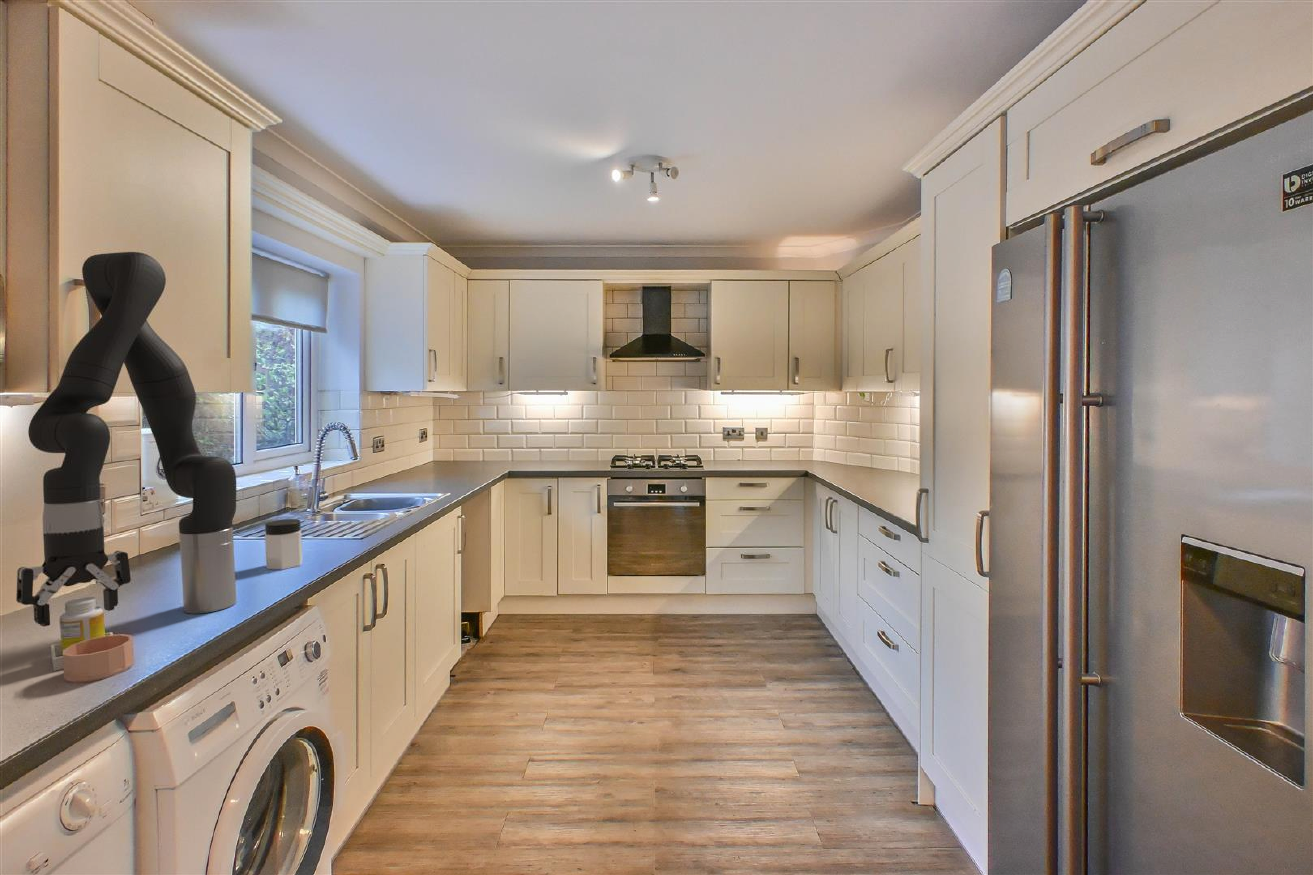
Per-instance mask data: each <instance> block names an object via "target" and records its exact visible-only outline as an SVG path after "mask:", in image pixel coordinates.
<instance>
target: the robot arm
mask: <svg viewBox="0 0 1313 875" xmlns="http://www.w3.org/2000/svg"><path fill="white" fill-rule="evenodd" d="M81 272H82V279H83V283H84V286H85V287H86V289H87V292H88V293H89V295H90V297H91V299H92V301H93V303H94V305H95V307H96V309H97V310H98V312H99V314H100V316H101V317H100V318H99V320H98V321H97V322H96V323H95V324H94V325H93V326H92V327H91V328H90V330H89V331H88V332H86V333H85V335H84V336H83V337H82V338H81V339H79V342H78V343H77V344H76V345H75V346H74V348H73V349H72V351H71V353H70V355H69V356H68V358H67V361H66V364H65V366H64V369H63V371H62V374H61V376H60V379H59V383H58V384H57V387H56V388H54V390H52V392H51V393H50V394H49V395H48V397H47V398H46V399H45V400H44V402H43V403H42V404H41V405H40V407H39V408H37V411H35V413H34V415H33V416H32V418H31V420H30V422H29V425H28V432H27V433H28V439H29V441H30V443H31V444H32V446H33V447H34V448H35V449H37V450H38V451H41V452H44V453H48V454H64V457H63V460H62V464H61V466H60V467H55V468H51V469H49V470H47V471H46V472H45V473H44V474H43V476H42V477H43V478H42V489H43V511H42V538H43V557H44V561H43V563H42V565H41V566H31V567H27V566H22V567H19V568H18V569H17V571H16V573H17V574H16V578H17V579H16V598H15V599H16V602H17V603H19V604H22V605H25V606H28V605H31V606H33V621H34V622H35V623H36V624H38V625H40V626H41V627H43V628H45V627H48V626H50V625H51V614H50V604H49V603H48V602H49V600H50V599H52V597H53V596H54V595H55V594H57V593H58V592H59V590H60V589H61V588H62V587H73V586H75V585H77V584H87V583H91V582H92V581H95V582H97V583H99V584H100V585H101V586H102V587H104V588H103V589H102V592H103V608H104V609H103V610H105V611H107V612H111V611H114V610H115V607H117V606H118V604H119V594H118V593H119V591H118V590H119V588H120V587H122V586H124V585H126V584H127V585H128V584H129V583H130V582H131V580H132V579H131V572H130V571H131V570H130V564H129V563H130V562H129V553H128V552H125V551H122V550H116V551H114V552H113V553H109V554H106V552H105V531H104V529H105V528H104V526H105V525H104V522H105V518H104V512H103V506H102V501H101V500H102V499H101V482H100V481H101V480H100V476H101V472H102V471H103V467H104V465H105V460H106V458H107V454H108V450H109V447H110V443H111V433H110V429H109V427H108V424H107V423H106V422H105V420H104V419H103V418H101V417H100V416H99V415H97V414H93V413H88V412H89V410H90V409H92V408H94V407H99V406H102V405H105V404H106V403H108V402H109V401H110V400H111V398H112V396H113V393H114V390H115V387H116V385H117V382H118V380H119V379H118V378H119V376H120V373H121V371H122V368H123V366H124V367H125V369H126V371H127V375H128V377H129V380H130V382H131V386H132V387H133V389H134V393H135V394H136V397H137V399H138V402H139V403H140V406H141V408H142V411H143V414H144V415H145V418H146V420H147V423H148V425H149V428H150V431H151V434H152V436H153V438H154V441H155V444H156V447H157V451H158V454H159V458H160V462H161V466H162V470H163V474H164V478H165V480H166V483H167V485H168V487H169V488H170V490H171V491H172V492H173V494H174V493H175V495H178V496H179V497H182V498H187V499H192V509H191V511H190V513H189V514H188V515H186V516H183V517H182V518H180V520H179V522H178V534H179V546H180V547H179V548H180V549H179V550H180V552H179V553H180V567H181V580H182V581H181V583H182V584H181V585H182V599H183V611H184V613H186V614H206V613H210V612H211V613H212V612H216V611H221V610H224V609H227V608H229V607H231V606H233V605H235V604H236V603H237V589H236V588H237V587H236V570H235V569H236V566H235V547H234V532H233V531H234V530H233V528H234V527H233V525H234V524H233V521H234V520H233V519H234V518H235V514H236V511H237V475H236V471H235V468H234V466H233V464H232V463H231V462H230V461H229V460H228V459H225V458H223V457H220V456H205V455H202V452H201V451H200V449H199V446H198V444H197V442H196V438H195V436H194V431H193V420H194V416H195V410H196V404H197V396H196V390H195V386H194V384H193V381H192V379H191V376H190V373H189V370H188V369H187V366H186V365H185V362H184V361H183V360H182V359H181V357H180V356H179V355H178V354H177V353H176V352H175V351H174V349H172V347H170V346H169V344H167V343H166V341H164V340H163V339H162V338H161V337H160V336H159V335H158V334H157V333H156V331H155V330H154V329H153V328H152V326H151V325H150V323H149V322H148V318H149V316H150V315H151V313H152V311H153V310H154V309H155V307H156V305H157V304H158V302H159V300H160V298H161V296H162V295H163V293H164V290H165V287H166V281H167V278H166V274H165V271H164V269H163V266H161V264H160V263H159V262H158V260H156V259H155V258H154V257H152V256H151V255H149V254H147V253H143V252H138V251H123V252H122V251H121V252H109V253H99V254H98V253H97V254H94V255H91V256H89V257H88V258H86V259H85V260H84V262H83V265H82V270H81ZM108 562H110V564H111V565H114V570H115V577H116V578H114V579H112V578H111V577H110V576H109V575H108V574H106V573H105V572H104V571H102V570H103V568H105V566H106V565H107V563H108ZM40 574H44V575H45V577H48V578H47V579H46V580H45V581H44V582H43V583H42V584H41V585H40V588H39V590H38V591H37V592H36V594H35V595H34V593H33V591H34V581H36V580H37V579H38V578H39V575H40Z"/></svg>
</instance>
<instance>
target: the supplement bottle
mask: <svg viewBox="0 0 1313 875" xmlns="http://www.w3.org/2000/svg"><path fill="white" fill-rule="evenodd" d="M97 604H98V603H97V598H96V597H94V596H85V597H84V596H83V597H78V598H74V599H73V598H72V599H71V600H68V601H65V603H64V611H65V612H64V613H62V614H61V615H60V616H59V628H60V629H59V630H60V639H61V640H60V643H62V654H63V650H64V649H66V648H68V647H70V646H71V645H73V644H76V643H79V642H82V641H85V640H88V639H92V638H97V637H102V636H105V633H106V628H105V615H104V609H103V607H101V606H98V605H97Z"/></svg>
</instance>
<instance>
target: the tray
mask: <svg viewBox="0 0 1313 875" xmlns="http://www.w3.org/2000/svg"><path fill="white" fill-rule="evenodd" d="M107 635H114V633H113V632H112V631H111V632H105V636H107ZM50 651H51V653H50V654H51V661H52V663H51V664H52V668H53V672H56V671H61V670H64V669H63V654H62V643H61V642H60V643H55V644H51V645H50Z"/></svg>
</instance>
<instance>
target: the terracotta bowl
mask: <svg viewBox="0 0 1313 875" xmlns="http://www.w3.org/2000/svg"><path fill="white" fill-rule="evenodd" d="M62 656H63V669H62V670H63V677H64V681H65V682H67V683H71V684H80V683H81V684H82V683H89V682H95V681H100V680H103V679H108V678H110V676H111V677H114V676H116V674H117V675H118V674H121V673H124V672H125V670H126V671H127V670H129V669H130V668H132V667H133V666H134V664H135V656H134V643H133V636H132V635H131V634H125V633H121V634H113V635H107V636H102V637H97V638H92V639H88V640H85V641H82V642H79V643H76V644H73V645H71V646H70V647H68V648H66V649H64V650H63V655H62ZM132 665H133V666H132ZM131 666H132V667H131ZM128 668H129V669H128ZM107 677H108V678H107Z"/></svg>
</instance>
